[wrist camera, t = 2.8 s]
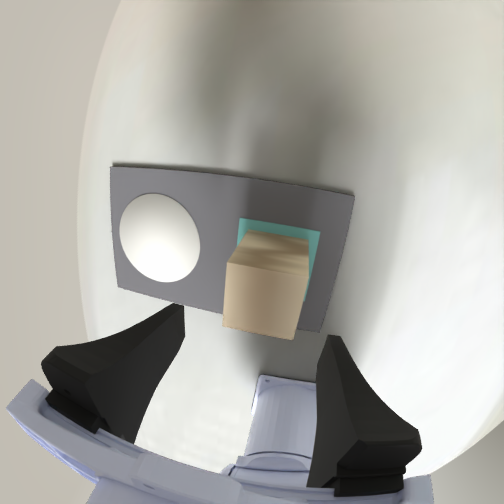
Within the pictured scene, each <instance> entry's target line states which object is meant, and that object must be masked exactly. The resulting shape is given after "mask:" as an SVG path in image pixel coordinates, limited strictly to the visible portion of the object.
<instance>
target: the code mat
mask: <svg viewBox="0 0 504 504" xmlns="http://www.w3.org/2000/svg"><path fill="white" fill-rule="evenodd" d="M354 200H355V196H352V195H347V194H342V193H337V192H332V191H327V190H322V189H317V188H311V187H305V186H300V185H294V184H288V183H281V182H275V181H268V180H261V179H254V178H247V177H239V176H231V175H223V174H214V173H204V172H194V171H183V170H171V169H157V168H140V167H118V166H112V167H110V201H111V223H112V237H113V249H114V259H115V268H116V276H117V284H118V287H120V288H123V289H127V290H130V291H133V292H137V293H141V294H144V295H148V296H151V297H155V298H159V299H162V300H166V301H170V302H174V303H178V304H182V305H186V306H190V307H194V308H198V309H202V310H207V311H211V312H215V313H220V314H223V308H224V294H225V281H226V268H227V262H228V260H229V258H230V257H231V255H232V254H233V252H234V251H235V249H236V248H237V246H238V245H239V243H240V241H241V240H242V238H243V237H244V235H245V234H246V232H247V231H248V229H250V230H256V231H262V232H268V233H274V234H279V235H285V236H291V237H296V238H302V239H308V240H309V279H308V283H307V287H306V291H305V295H304V300H303V304H302V308H301V312H300V316H299V319H298V323H297V327H296V329H301V330H307V331H314V332H320V329H321V326H322V323H323V320H324V317H325V313H326V310H327V307H328V304H329V300H330V297H331V293H332V290H333V286H334V283H335V279H336V276H337V272H338V268H339V264H340V261H341V257H342V253H343V249H344V245H345V240H346V236H347V232H348V228H349V223H350V219H351V214H352V209H353V205H354Z"/></svg>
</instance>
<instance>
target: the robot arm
mask: <svg viewBox="0 0 504 504" xmlns="http://www.w3.org/2000/svg"><path fill="white" fill-rule="evenodd" d="M184 338H185V322H184V306H183V305H179V304H175V303H172V304H171V305H169V306H167V307H165V308H164V309H162V310H161V311H159V312H157V313H156V314H154V315H152V316H150V317H149V318H147V319H145V320H144V321H142V322H140V323H138V324H136V325H134V326H132V327H130V328H128V329H126V330H124V331H121V332H119V333H116V334H114V335H111V336H108V337H105V338H102V339H98V340H95V341H91V342H87V343H82V344H76V345H67V346H57V347H55V348H54V349H53V350H52V351H51V352H50V353H49V354H48V355H47V356H46V357H45V358H44V359H43V360H42V362H41V366H42V369H43V372H44V374H45V376H46V378H47V380H48V381H49V383H50V385H51V386H52V388H53V390H52V391H51V392H50V393H49V391H48V390H47V389H45V388H44V387H43V386H41V385H40V384H39V383H37V382H36V381H35V380H33V379H31V380H30V381H29V382H28V383H27V384H26V385H25V386H24V387H23V389H22V390H21V391H20V392H19V393H18V394H17V395H16V397H15V398H14V399H13V400H12V401H11V402H10V404H9V405H8V406H7V407H6V409H7V411H8V412H9V413H10V414H11V416H12V417H13V418H14V419H15V420H16V422H17V423H18V424H19V425H20V426H21V427H22V429H23V430H24V431H25V432H26V433H27V434H28V435H29V436H30V437H31V438H33V439H34V440H35V441H36V442H37V443H38V444H40V445H41V446H42V447H44V448H45V449H46V450H47V451H49V452H50V453H51V454H52V455H54V456H55V457H56V458H58V459H59V460H60V461H62V462H63V463H64V464H66V465H67V466H69V467H70V468H71V469H73V470H75V471H76V472H77V473H79V474H80V475H82V476H83V477H85V478H86V479H88V480H90V481H92V482H93V483H95V484H96V487H95V489H94V490H93V492H92V494H91V496H90V497H89V499H88V501H87V503H86V504H434V498H433V489H432V482H431V475H430V474H427V475H422V476H416V477H410V478H407V479H404V480H403V474H405V473H406V467H405V466H406V465H407V464H408V463H409V462H411V461H412V460H413V459H414V458H415V457H416V456H417V455H418V454H419V453H420V452H421V450H422V445H421V439H420V435H419V431H418V429H416V428H415V427H413V426H412V425H410V424H409V423H408V422H406V421H405V420H403V419H402V418H401V417H400V416H398V415H397V414H396V413H395V412H394V411H393V410H391V409H390V408H389V407H388V406H387V405H386V404H385V403H384V402H383V401H382V400H381V399H380V397H379V396H378V395H377V394H376V393H375V392H374V390H373V389H372V388H371V387H370V385H369V384H368V383H367V381H366V380H365V378H364V377H363V375H362V374H361V372H360V371H359V369H358V368H357V366H356V364H355V362H354V361H353V359H352V357H351V355H350V353H349V352H348V350H347V348H346V346H345V344H344V342H343V340H342V338H341V337H340V336H335V335H328V337H327V340H326V342H325V345H324V348H323V351H322V353H321V356H320V359H319V361H318V364H317V375H316V383H311V382H303V381H297V380H290V379H284V378H278V377H273V376H267V375H260V376H259V378H258V383H257V388H256V392H255V397H254V402H253V406H252V411H251V414H252V415H253V416H254V417H253V421H252V425H251V429H250V433H249V437H248V441H247V445H246V449H245V453H244V456H238V459H237V462H236V464H229V465H228V466H227V467H226V468H224V469H223V470H222V471H221V472H220V473H219V474H218V473H214V472H211V471H207V470H203V469H200V468H196V467H193V466H190V465H186V464H183V463H180V462H177V461H174V460H171V459H169V458H166V457H163V456H160V455H158V454H155V453H153V452H150V451H148V450H145V449H143V448H140V447H138V446H136V445H134V443H135V439H136V436H137V433H138V430H139V428H140V425H141V422H142V420H143V417H144V414H145V412H146V410H147V407H148V405H149V403H150V400H151V398H152V396H153V394H154V392H155V389H156V388H157V386H158V384H159V382H160V381H161V379H162V377H163V376H164V374H165V372H166V371H167V369H168V368H169V366H170V365H171V363H172V361H173V360H174V358H175V356H176V355H177V353H178V351H179V349H180V347H181V345H182V342H183V340H184Z"/></svg>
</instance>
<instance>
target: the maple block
mask: <svg viewBox="0 0 504 504" xmlns="http://www.w3.org/2000/svg"><path fill="white" fill-rule="evenodd" d="M308 279H309V240H308V239H302V238H296V237H291V236H285V235H279V234H274V233H268V232H262V231H256V230H250V229H248V231H247V232H246V234H245V235H244V237H243V238H242V240H241V241H240V243H239V245H238V246H237V248H236V249H235V251H234V252H233V254H232V255H231V257H230V258H229V260H228V262H227V268H226V281H225V294H224V308H223V322H222V326H223V327H228V328H232V329H237V330H242V331H246V332H251V333H256V334H261V335H266V336H272V337H277V338H282V339H288V340H293V338H294V335H295V331H296V327H297V323H298V319H299V316H300V312H301V308H302V304H303V300H304V295H305V291H306V287H307V283H308Z"/></svg>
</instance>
